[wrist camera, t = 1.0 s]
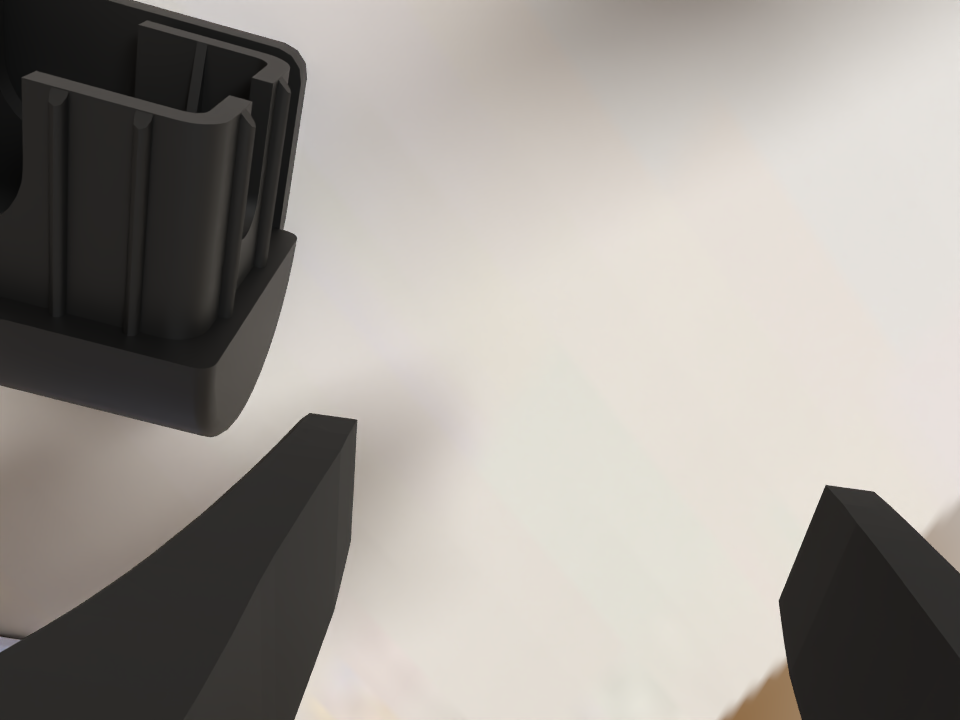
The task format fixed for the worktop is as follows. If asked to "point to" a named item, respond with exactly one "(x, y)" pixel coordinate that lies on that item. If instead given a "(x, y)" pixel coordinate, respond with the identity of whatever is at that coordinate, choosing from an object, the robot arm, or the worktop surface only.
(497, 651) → the worktop surface
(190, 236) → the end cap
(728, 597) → the worktop surface
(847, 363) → the worktop surface
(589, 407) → the worktop surface
